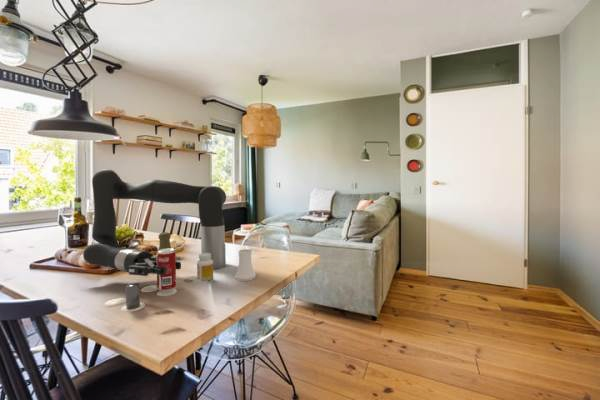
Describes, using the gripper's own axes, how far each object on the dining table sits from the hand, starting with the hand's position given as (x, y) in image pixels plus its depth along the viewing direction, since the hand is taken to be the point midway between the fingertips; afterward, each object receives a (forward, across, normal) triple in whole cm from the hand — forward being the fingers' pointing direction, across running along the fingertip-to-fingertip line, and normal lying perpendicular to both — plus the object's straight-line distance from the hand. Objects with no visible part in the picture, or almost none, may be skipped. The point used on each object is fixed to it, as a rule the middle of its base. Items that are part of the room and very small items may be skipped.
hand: (172, 268), depth 84 cm
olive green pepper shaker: (-42, +33, +10) cm, 55 cm away
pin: (-2, -11, +8) cm, 14 cm away
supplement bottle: (-1, +15, +9) cm, 18 cm away
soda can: (-3, 0, +7) cm, 7 cm away
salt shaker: (+10, +24, +9) cm, 28 cm away
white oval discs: (-6, -5, +9) cm, 12 cm away
